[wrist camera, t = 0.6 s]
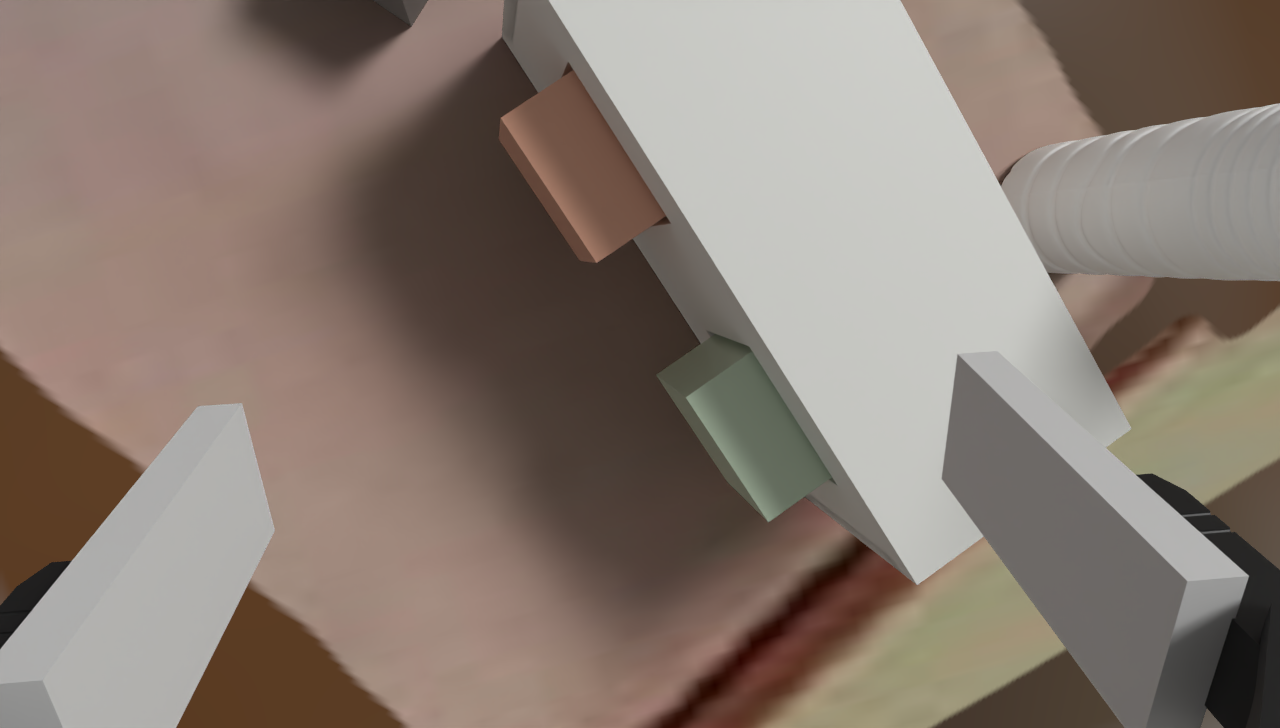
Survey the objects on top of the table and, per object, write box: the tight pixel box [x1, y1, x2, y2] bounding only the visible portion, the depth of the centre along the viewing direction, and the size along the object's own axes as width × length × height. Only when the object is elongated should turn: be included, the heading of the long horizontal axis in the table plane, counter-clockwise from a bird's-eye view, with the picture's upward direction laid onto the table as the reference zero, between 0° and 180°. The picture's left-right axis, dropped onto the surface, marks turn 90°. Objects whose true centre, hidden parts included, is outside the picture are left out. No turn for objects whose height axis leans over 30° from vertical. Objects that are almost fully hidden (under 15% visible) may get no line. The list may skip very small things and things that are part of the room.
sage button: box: [656, 334, 832, 522], centre depth 36 cm, size 6×7×6 cm
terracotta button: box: [499, 70, 666, 263], centre depth 34 cm, size 6×7×6 cm
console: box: [502, 0, 1131, 585], centre depth 36 cm, size 26×10×13 cm, turn 33°
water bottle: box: [1001, 104, 1280, 281], centre depth 33 cm, size 9×6×25 cm
